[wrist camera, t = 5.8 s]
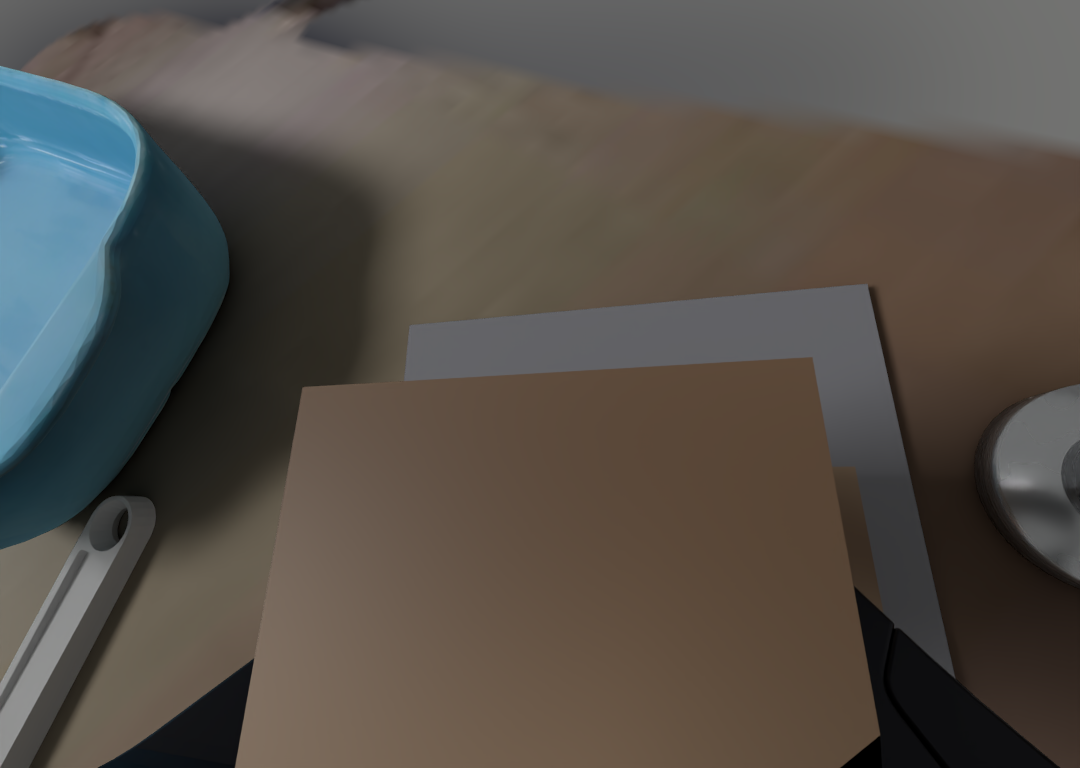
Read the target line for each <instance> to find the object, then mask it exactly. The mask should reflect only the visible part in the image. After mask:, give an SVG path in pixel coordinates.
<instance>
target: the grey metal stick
mask: <svg viewBox="0 0 1080 768" xmlns="http://www.w3.org/2000/svg"><path fill="white" fill-rule="evenodd" d="M974 471H975V481H976V486H977V490H978V493H979V496H980V499H981V502H982V504H983V506H984V508H985V510H986V512H987V514H988V516H989V517H990V519H991V521H992V522H993V524H994V525H995V527H996V528H997V529H998V531H999V532H1000V533H1001V534H1002V535H1003V537H1004V538H1005V539H1006V540H1007V541H1008V542H1009V543H1010V544H1011V545H1012V546H1013V547H1014V548H1015V549H1016V550H1017V551H1018V552H1019V553H1020V554H1021V555H1023V556H1024V557H1025V558H1026V559H1028V560H1029V561H1030V562H1031V563H1033V564H1034V565H1036V566H1037V567H1039V568H1040V569H1042V570H1043V571H1045V572H1046V573H1048V574H1049V575H1051V576H1053V577H1055V578H1057V579H1059V580H1061V581H1063V582H1064V583H1067V584H1069V585H1072V586H1074V587H1076V588H1079V589H1080V384H1078V385H1073V386H1068V387H1064V388H1061V389H1057V390H1053V391H1050V392H1046V393H1043V394H1039V395H1035V396H1032V397H1029V398H1026V399H1023V400H1021V401H1019V402H1017V403H1015V404H1013V405H1011V406H1010V407H1008V408H1007V409H1005V410H1004V411H1002V412H1001V413H1000V414H999V415H998V416H997V417H995V418H994V419H993V420H992V421H991V423H990V424H989V425H988V427H987V428H986V429H985V431H984V433H983V435H982V436H981V438H980V440H979V443H978V447H977V450H976V454H975V462H974Z"/></svg>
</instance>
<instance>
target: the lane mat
mask: <svg viewBox="0 0 1080 768" xmlns="http://www.w3.org/2000/svg"><path fill="white" fill-rule="evenodd" d="M805 357H813V363H814V369H815V374H816V380H817V385H818V391H819V396H820V402H821V408H822V413H823V419H824V424H825V430H826V435H827V441H828V447H829V452H830V458H831V463H832V467H855V469H856V474H857V479H858V484H859V489H860V494H861V500H862V505H863V510H864V515H865V520H866V525H867V530H868V535H869V541H870V546H871V551H872V556H873V561H874V566H875V571H876V577H877V582H878V587H879V592H880V597H881V602H882V607H883V613H884V614H885V615H886V616H887V617H888V618H889V619H890V620H891V621H893V623H894V628H900V629H901V630H903V631H904V632H905V633H906V634H907V635H908V636H909V637H910V638H911V639H912V640H913V641H914V642H915V643H917V644H918V645H919V646H920V647H921V648H922V649H923V650H924V651H925V652H926V653H927V654H928V655H929V656H931V657H932V658H933V659H934V660H935V661H936V662H937V663H938V664H939V665H941V666H942V667H943V668H944V669H945V670H946V671H947V672H948V673H950V674H951V675H952V676H953V677H954V678H955V675H954V670H953V666H952V661H951V657H950V652H949V648H948V643H947V639H946V634H945V630H944V625H943V621H942V616H941V612H940V607H939V603H938V598H937V594H936V590H935V585H934V581H933V576H932V572H931V567H930V563H929V558H928V554H927V549H926V545H925V540H924V536H923V531H922V527H921V522H920V518H919V513H918V509H917V505H916V500H915V496H914V491H913V487H912V482H911V478H910V473H909V469H908V464H907V460H906V455H905V451H904V446H903V442H902V437H901V433H900V428H899V424H898V420H897V415H896V411H895V406H894V402H893V397H892V393H891V388H890V384H889V379H888V375H887V370H886V366H885V361H884V357H883V352H882V348H881V343H880V339H879V334H878V330H877V326H876V321H875V317H874V312H873V308H872V303H871V299H870V294H869V290H868V285H867V284H860V285H849V286H838V287H827V288H816V289H805V290H794V291H782V292H771V293H760V294H749V295H738V296H727V297H716V298H705V299H694V300H683V301H672V302H661V303H650V304H639V305H628V306H617V307H606V308H595V309H584V310H573V311H562V312H551V313H540V314H529V315H517V316H506V317H495V318H484V319H473V320H462V321H451V322H440V323H429V324H418V325H410V327H409V337H408V347H407V357H406V367H405V376H404V381H414V380H431V379H448V378H465V377H482V376H499V375H516V374H533V373H550V372H567V371H584V370H601V369H618V368H635V367H652V366H669V365H686V364H703V363H720V362H737V361H754V360H771V359H788V358H805Z"/></svg>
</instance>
